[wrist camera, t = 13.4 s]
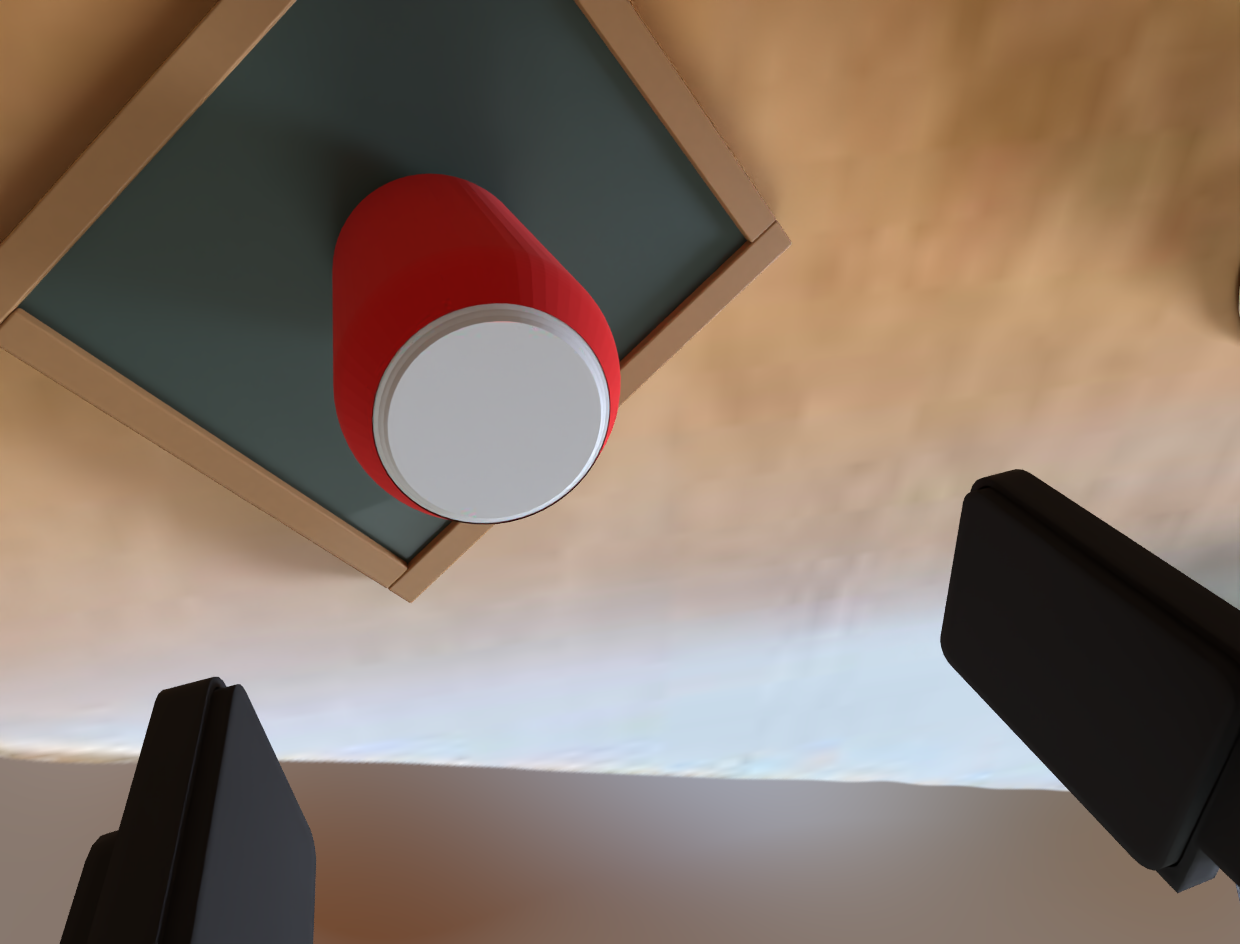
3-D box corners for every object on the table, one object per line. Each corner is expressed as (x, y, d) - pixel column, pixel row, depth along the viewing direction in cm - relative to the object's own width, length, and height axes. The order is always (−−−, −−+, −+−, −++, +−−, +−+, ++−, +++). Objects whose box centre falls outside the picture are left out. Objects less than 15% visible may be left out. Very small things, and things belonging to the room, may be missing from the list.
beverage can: (526, 169, 25) (656, 265, 15) (525, 354, 28) (634, 538, 18) (320, 165, 23) (312, 272, 13) (343, 364, 26) (351, 574, 16)
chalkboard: (444, -243, 21) (452, -261, 19) (773, 234, 30) (793, 243, 29) (-38, 294, 23) (-61, 311, 22) (407, 580, 32) (410, 604, 31)
